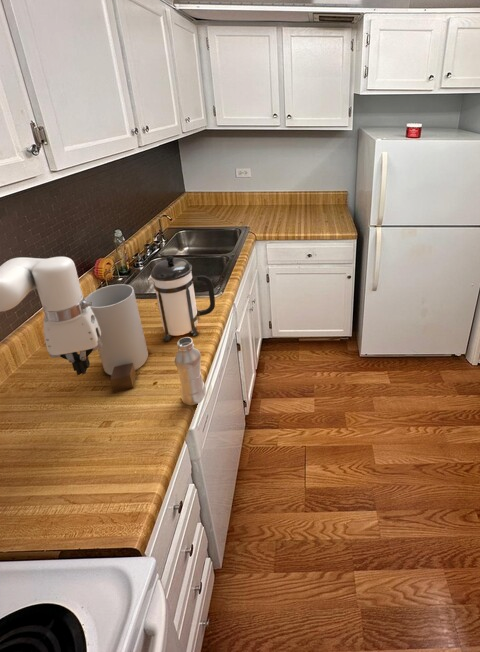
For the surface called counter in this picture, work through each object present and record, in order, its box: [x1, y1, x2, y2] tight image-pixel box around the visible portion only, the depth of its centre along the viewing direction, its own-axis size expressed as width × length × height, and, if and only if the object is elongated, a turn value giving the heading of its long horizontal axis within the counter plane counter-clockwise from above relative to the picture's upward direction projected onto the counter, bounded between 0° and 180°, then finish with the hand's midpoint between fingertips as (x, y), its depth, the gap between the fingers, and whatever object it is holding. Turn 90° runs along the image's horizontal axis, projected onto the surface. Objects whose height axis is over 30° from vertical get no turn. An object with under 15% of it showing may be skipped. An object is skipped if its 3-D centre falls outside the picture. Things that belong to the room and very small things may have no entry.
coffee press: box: [147, 254, 216, 342], centre depth 116 cm, size 17×16×30 cm
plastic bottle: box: [174, 336, 207, 406], centre depth 89 cm, size 6×7×20 cm
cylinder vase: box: [84, 283, 149, 376], centre depth 101 cm, size 12×12×25 cm
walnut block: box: [109, 363, 137, 393], centre depth 97 cm, size 5×5×5 cm
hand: (82, 370), depth 83 cm, fingers closed
